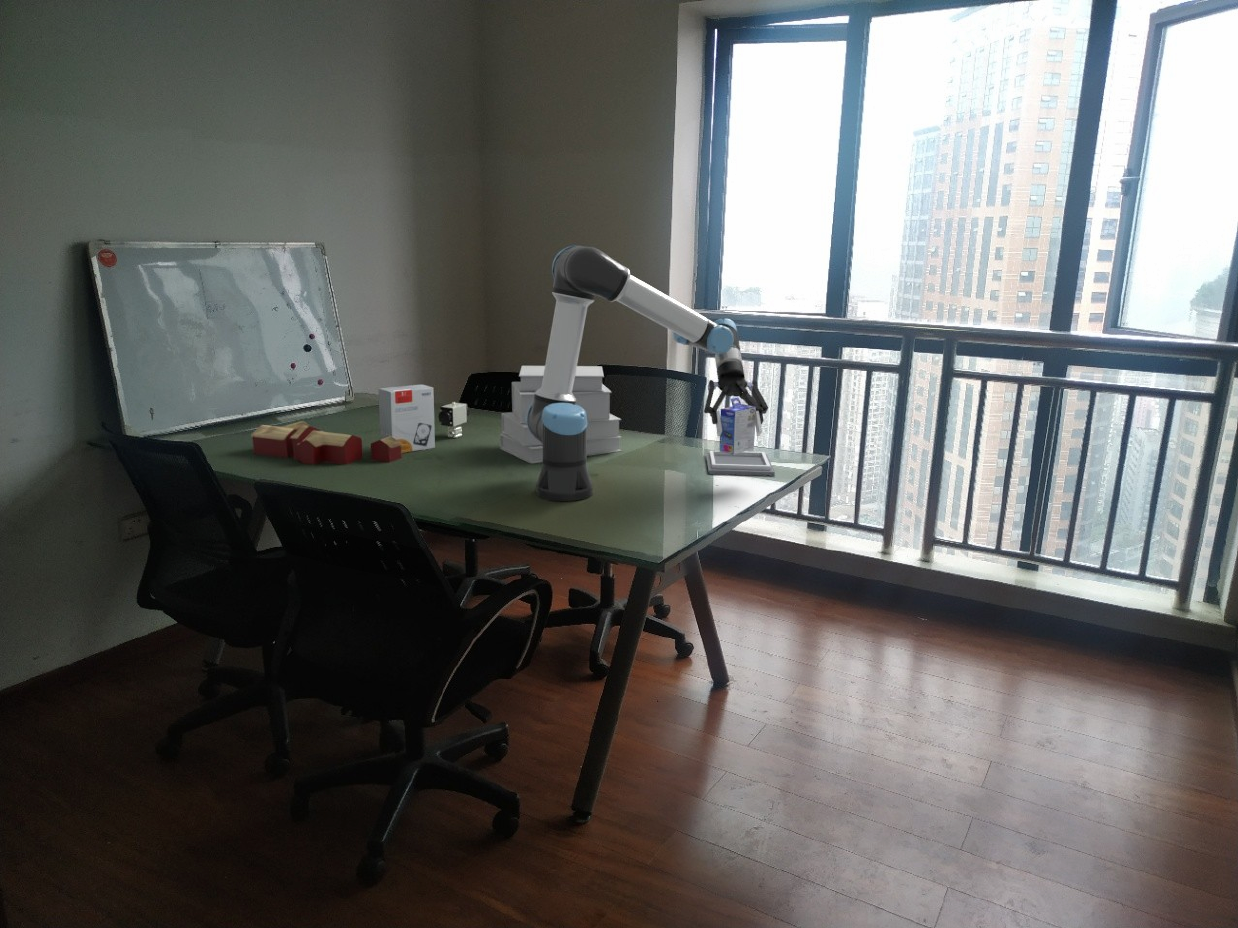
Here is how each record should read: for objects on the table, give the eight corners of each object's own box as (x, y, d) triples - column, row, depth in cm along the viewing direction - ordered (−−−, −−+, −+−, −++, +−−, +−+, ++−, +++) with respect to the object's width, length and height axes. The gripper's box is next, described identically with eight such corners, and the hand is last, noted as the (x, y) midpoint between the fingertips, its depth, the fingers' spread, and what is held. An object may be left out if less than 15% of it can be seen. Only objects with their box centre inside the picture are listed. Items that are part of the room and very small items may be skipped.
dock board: (708, 474, 252) (709, 466, 251) (706, 456, 272) (706, 448, 272) (774, 476, 251) (774, 468, 250) (766, 458, 271) (767, 450, 271)
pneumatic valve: (470, 434, 297) (469, 399, 294) (450, 441, 286) (449, 405, 283) (457, 432, 299) (456, 398, 296) (436, 439, 289) (435, 404, 286)
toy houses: (247, 456, 265) (244, 424, 262) (294, 442, 283) (292, 411, 280) (368, 473, 249) (366, 438, 246) (410, 456, 267) (408, 425, 264)
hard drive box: (391, 455, 267) (388, 392, 262) (380, 450, 273) (376, 388, 268) (436, 448, 277) (433, 386, 272) (424, 443, 283) (421, 383, 278)
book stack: (490, 446, 281) (489, 368, 274) (584, 435, 299) (584, 361, 292) (533, 467, 256) (532, 382, 250) (631, 453, 274) (633, 373, 268)
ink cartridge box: (738, 445, 244) (741, 395, 241) (754, 449, 241) (758, 398, 237) (717, 451, 237) (720, 399, 234) (733, 455, 234) (737, 402, 230)
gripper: (765, 375, 250) (777, 440, 239) (687, 374, 248) (695, 440, 237) (772, 360, 244) (784, 426, 233) (692, 359, 241) (701, 425, 230)
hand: (739, 433), depth 235 cm, fingers closed on ink cartridge box, 10 cm apart
